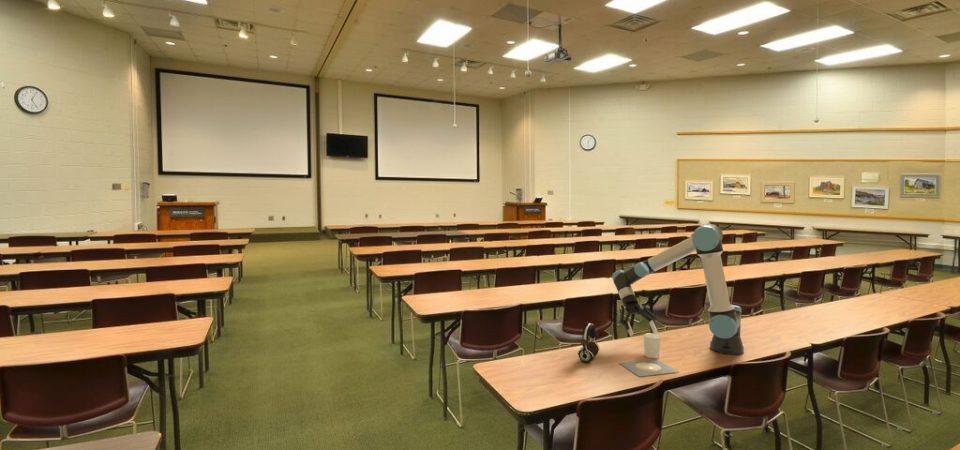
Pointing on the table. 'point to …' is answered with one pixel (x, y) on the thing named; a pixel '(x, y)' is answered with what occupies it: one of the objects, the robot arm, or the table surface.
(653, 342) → the white cup
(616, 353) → the table surface
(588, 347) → the headset
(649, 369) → the card
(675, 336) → the table surface
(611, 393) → the table surface
